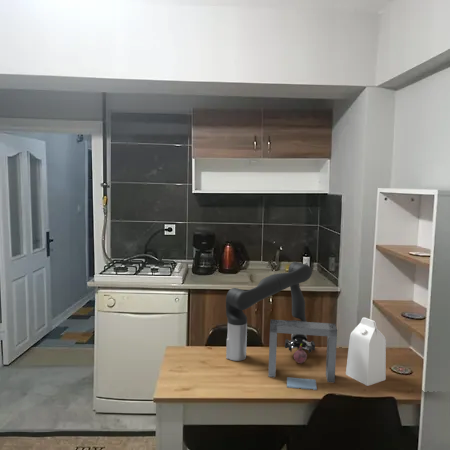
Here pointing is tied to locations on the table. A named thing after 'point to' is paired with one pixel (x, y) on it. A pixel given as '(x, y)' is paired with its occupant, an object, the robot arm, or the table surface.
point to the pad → (301, 383)
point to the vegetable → (300, 355)
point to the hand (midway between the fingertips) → (300, 350)
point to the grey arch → (304, 329)
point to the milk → (367, 353)
